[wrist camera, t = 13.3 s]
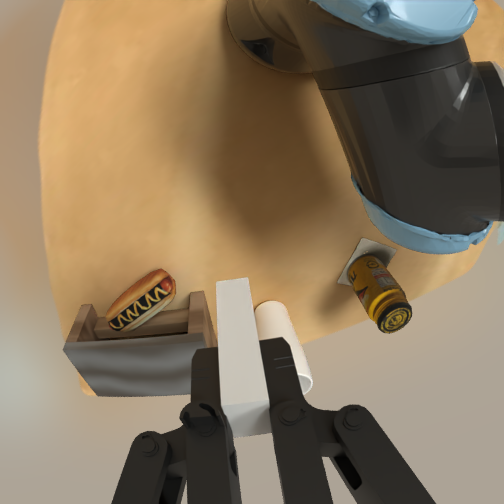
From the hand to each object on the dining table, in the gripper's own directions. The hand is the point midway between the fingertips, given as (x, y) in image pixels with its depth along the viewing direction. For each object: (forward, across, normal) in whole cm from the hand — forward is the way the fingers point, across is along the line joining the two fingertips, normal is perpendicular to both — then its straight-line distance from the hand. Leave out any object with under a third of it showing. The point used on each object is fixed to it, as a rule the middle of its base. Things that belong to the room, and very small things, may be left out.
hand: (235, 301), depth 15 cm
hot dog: (+25, -15, -17) cm, 33 cm away
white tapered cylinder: (+25, +4, -24) cm, 35 cm away
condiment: (+25, +20, -18) cm, 37 cm away
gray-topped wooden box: (+24, -16, -24) cm, 38 cm away
